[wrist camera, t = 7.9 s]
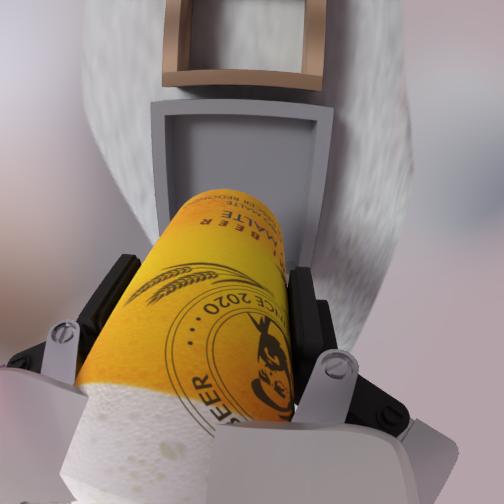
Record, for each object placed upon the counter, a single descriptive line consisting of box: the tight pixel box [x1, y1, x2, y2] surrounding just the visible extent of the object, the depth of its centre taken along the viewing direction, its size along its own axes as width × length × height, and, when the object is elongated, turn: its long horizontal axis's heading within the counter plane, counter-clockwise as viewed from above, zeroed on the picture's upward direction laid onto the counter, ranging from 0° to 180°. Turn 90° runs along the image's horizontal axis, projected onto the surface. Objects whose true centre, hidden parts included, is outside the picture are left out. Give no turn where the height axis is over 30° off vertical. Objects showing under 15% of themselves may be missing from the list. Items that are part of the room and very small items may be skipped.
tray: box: [151, 99, 334, 284], centre depth 21 cm, size 14×12×2 cm
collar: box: [162, 0, 326, 91], centre depth 14 cm, size 10×10×3 cm
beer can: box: [59, 189, 295, 504], centre depth 10 cm, size 6×6×15 cm
